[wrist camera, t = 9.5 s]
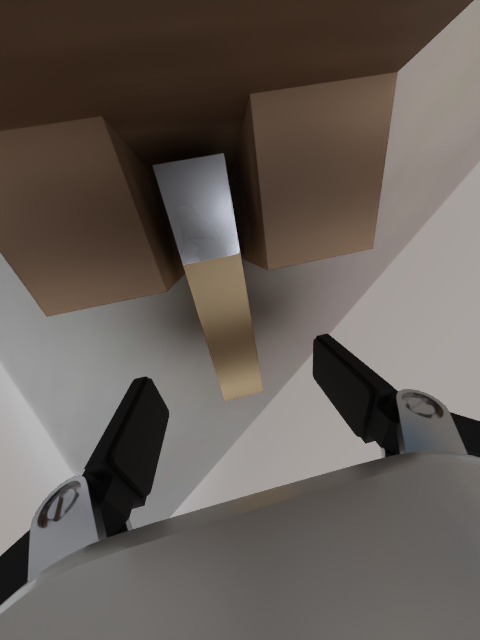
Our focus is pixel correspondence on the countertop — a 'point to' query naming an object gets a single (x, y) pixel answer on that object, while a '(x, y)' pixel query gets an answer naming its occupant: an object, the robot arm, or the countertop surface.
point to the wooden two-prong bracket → (192, 130)
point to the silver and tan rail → (213, 266)
